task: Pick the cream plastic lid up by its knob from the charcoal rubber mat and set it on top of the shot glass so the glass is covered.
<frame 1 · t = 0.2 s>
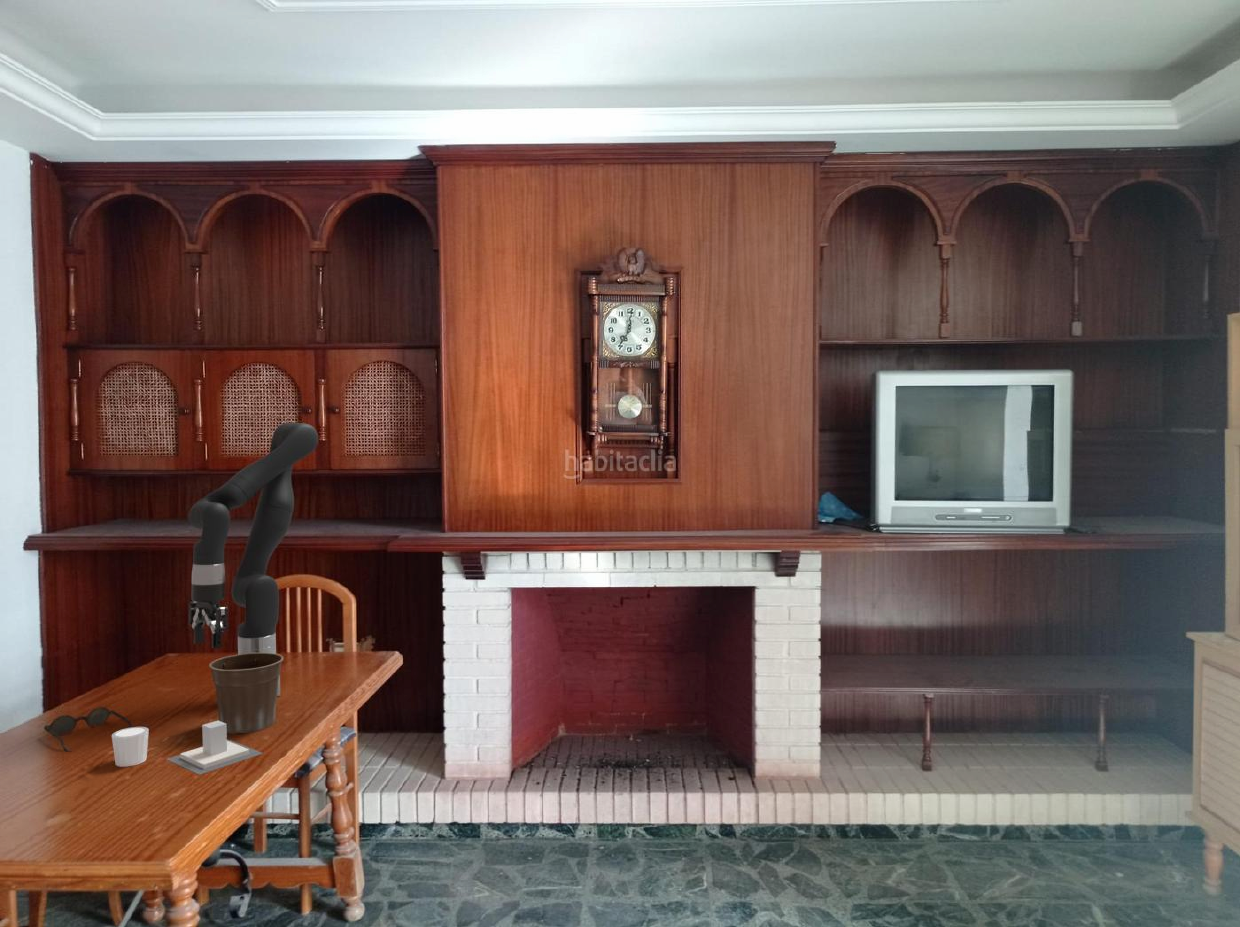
hand: (207, 645, 210), 17 cm above the table, tool pointing down, fingers open, 8 cm apart
plant pot: (248, 727, 201), on the table
shot glass: (131, 764, 179), on the table
eyeglasses: (91, 738, 195), on the table
mat: (215, 758, 181), on the table
lid: (215, 756, 181), point 1 cm above the table, touching mat
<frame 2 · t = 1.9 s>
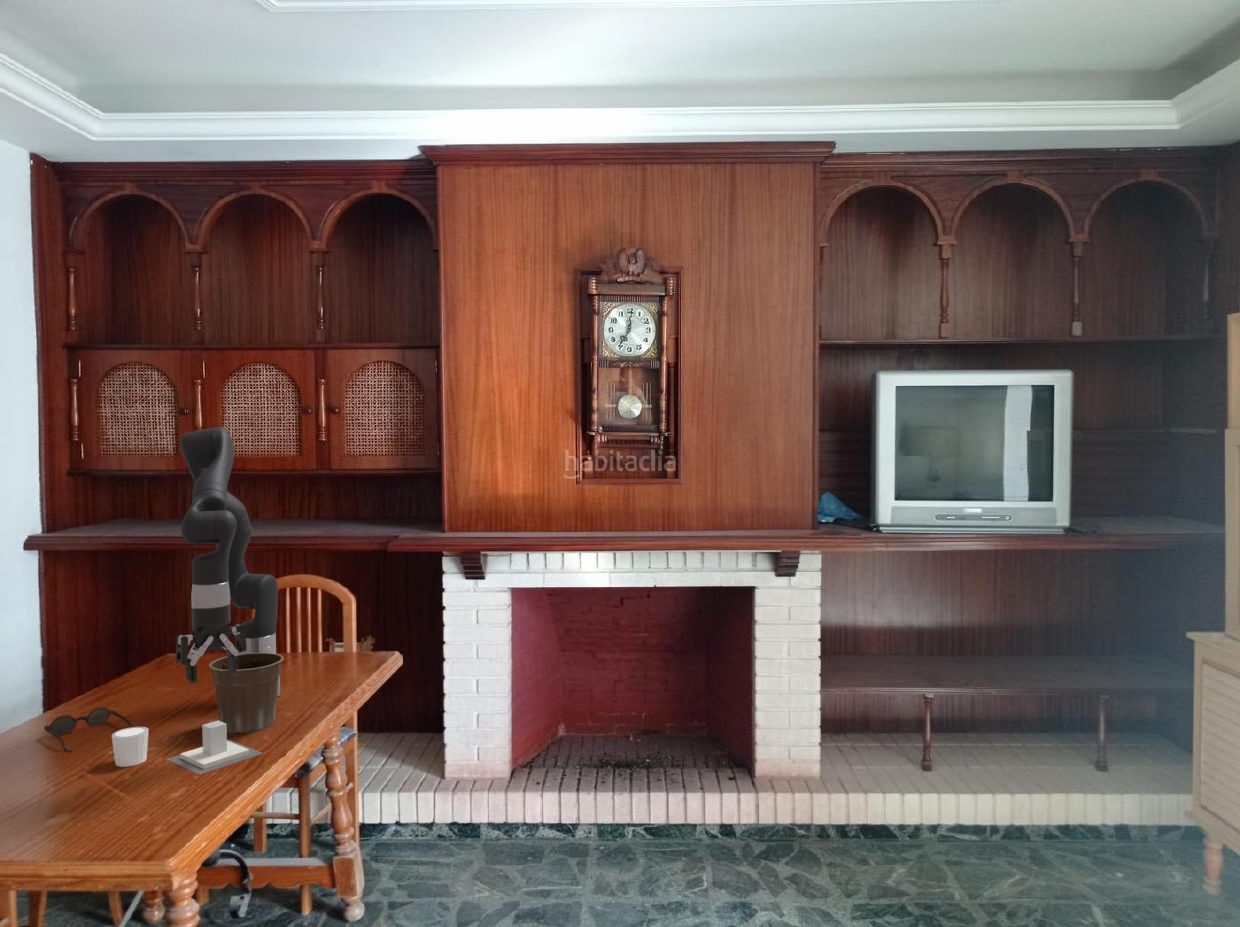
hand: (212, 677, 181), 18 cm above the table, tool pointing down, fingers open, 8 cm apart
nothing on the table moved.
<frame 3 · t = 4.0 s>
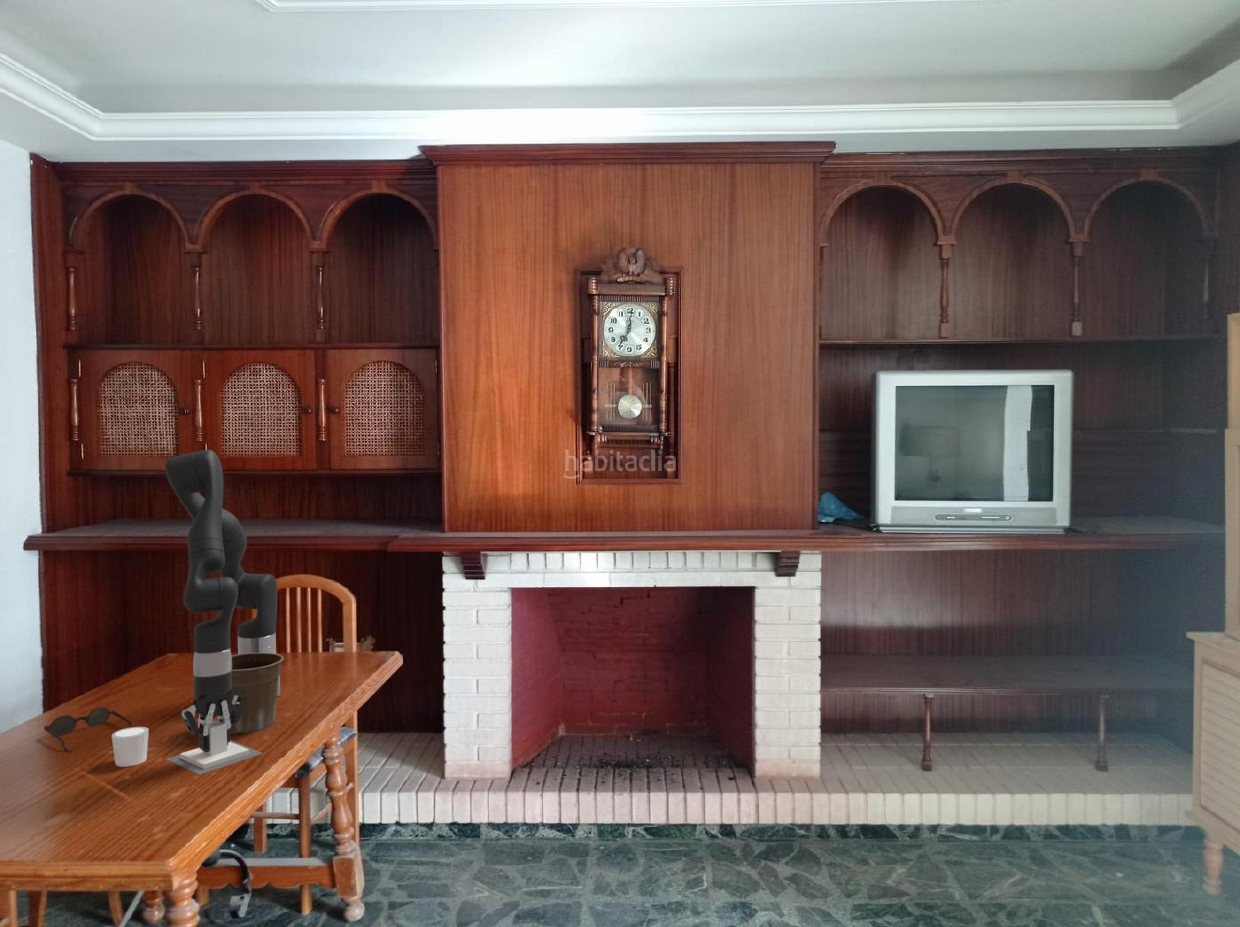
hand: (214, 747, 181), 2 cm above the table, tool pointing down, fingers closed on lid, 3 cm apart
lid: (215, 756, 181), point 1 cm above the table, touching gripper, mat
everything else where it was.
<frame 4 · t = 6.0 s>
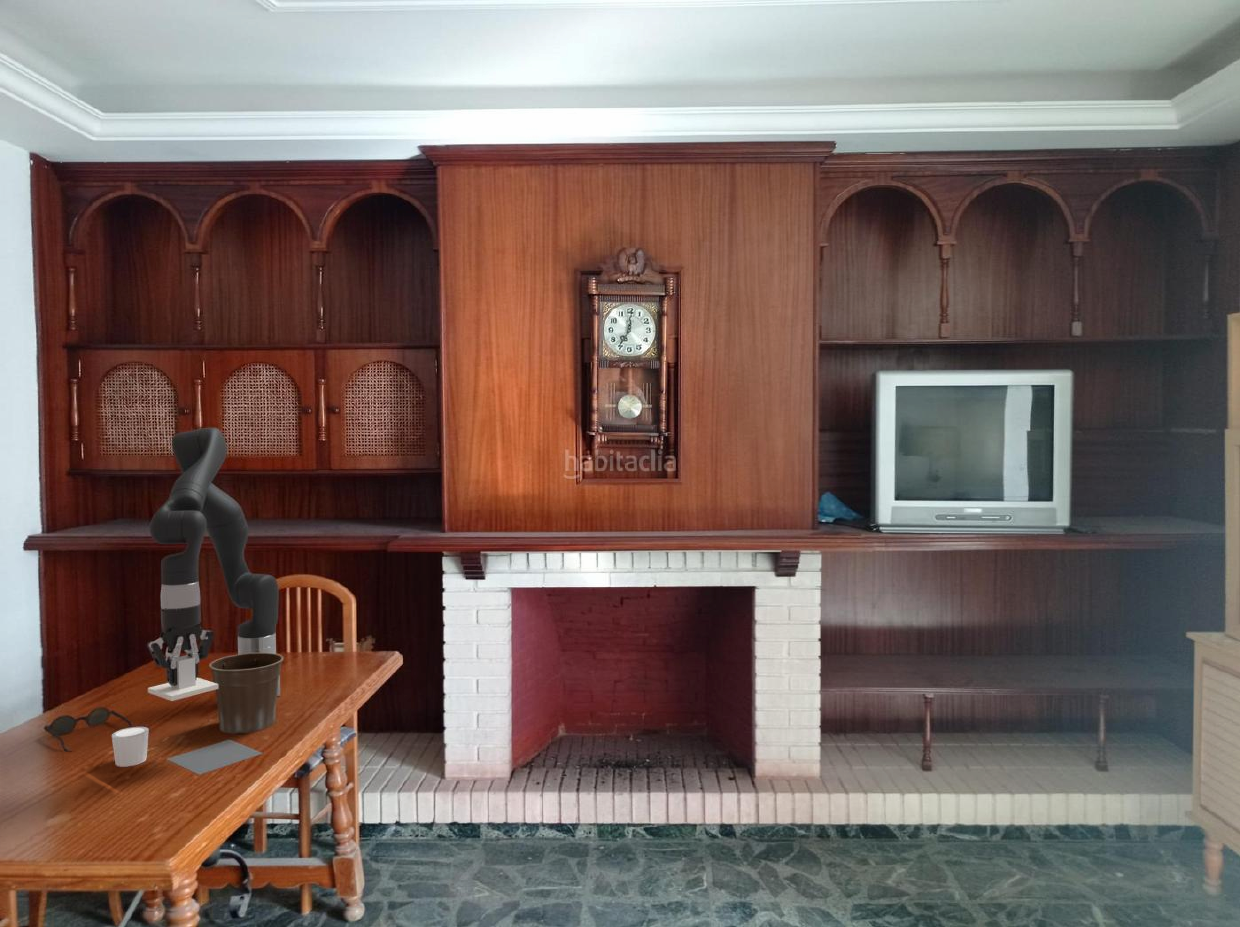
hand: (182, 682, 180), 17 cm above the table, tool pointing down, fingers closed on lid, 3 cm apart
lid: (183, 690, 180), point 15 cm above the table, touching gripper
everything else where it was.
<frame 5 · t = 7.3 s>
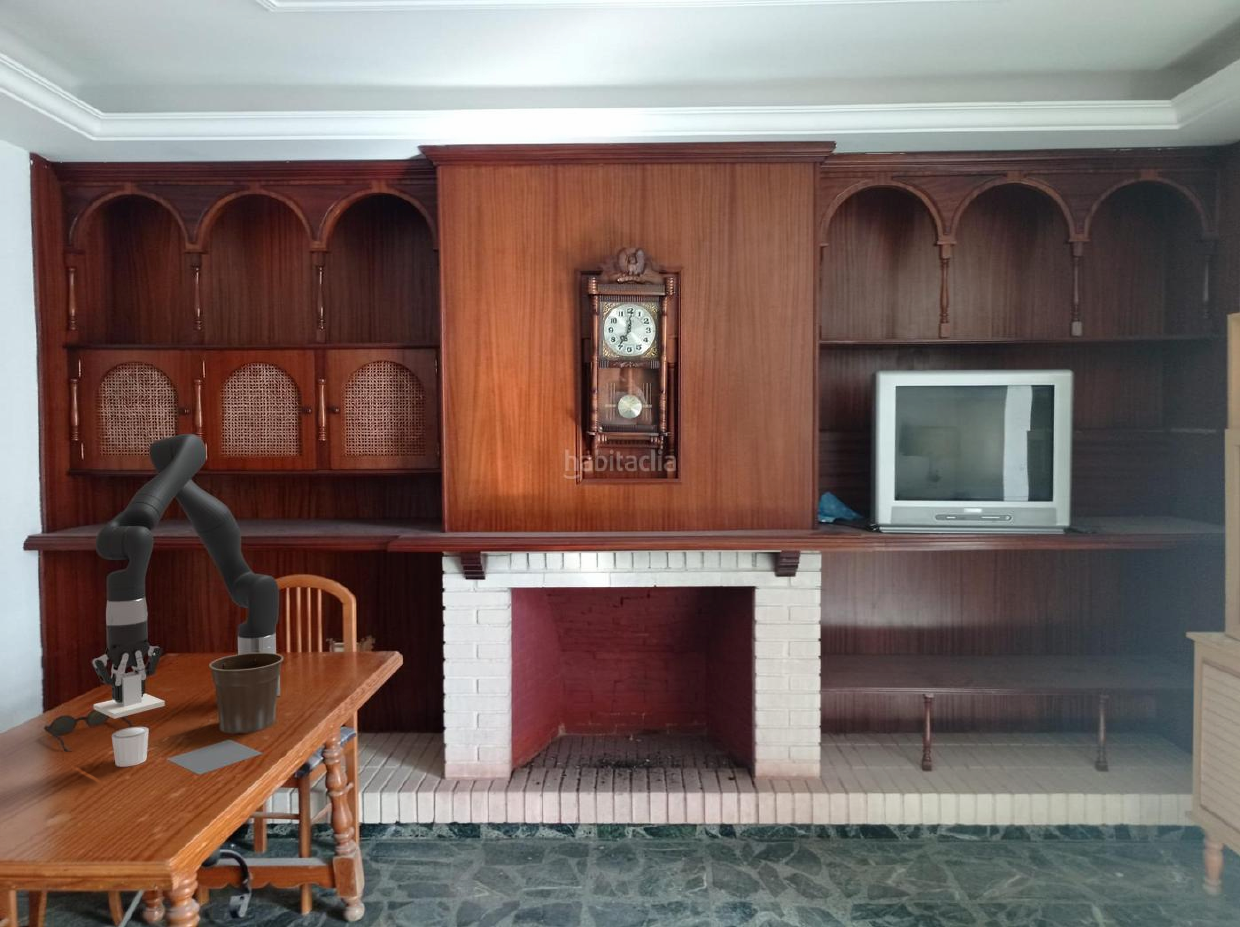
hand: (128, 699, 178), 14 cm above the table, tool pointing down, fingers closed on lid, 3 cm apart
lid: (129, 707, 178), point 12 cm above the table, touching gripper
everything else where it was.
when the fingers open (10 cm above the table, at t = 8.2 s): lid drops 1 cm, resting on shot glass.
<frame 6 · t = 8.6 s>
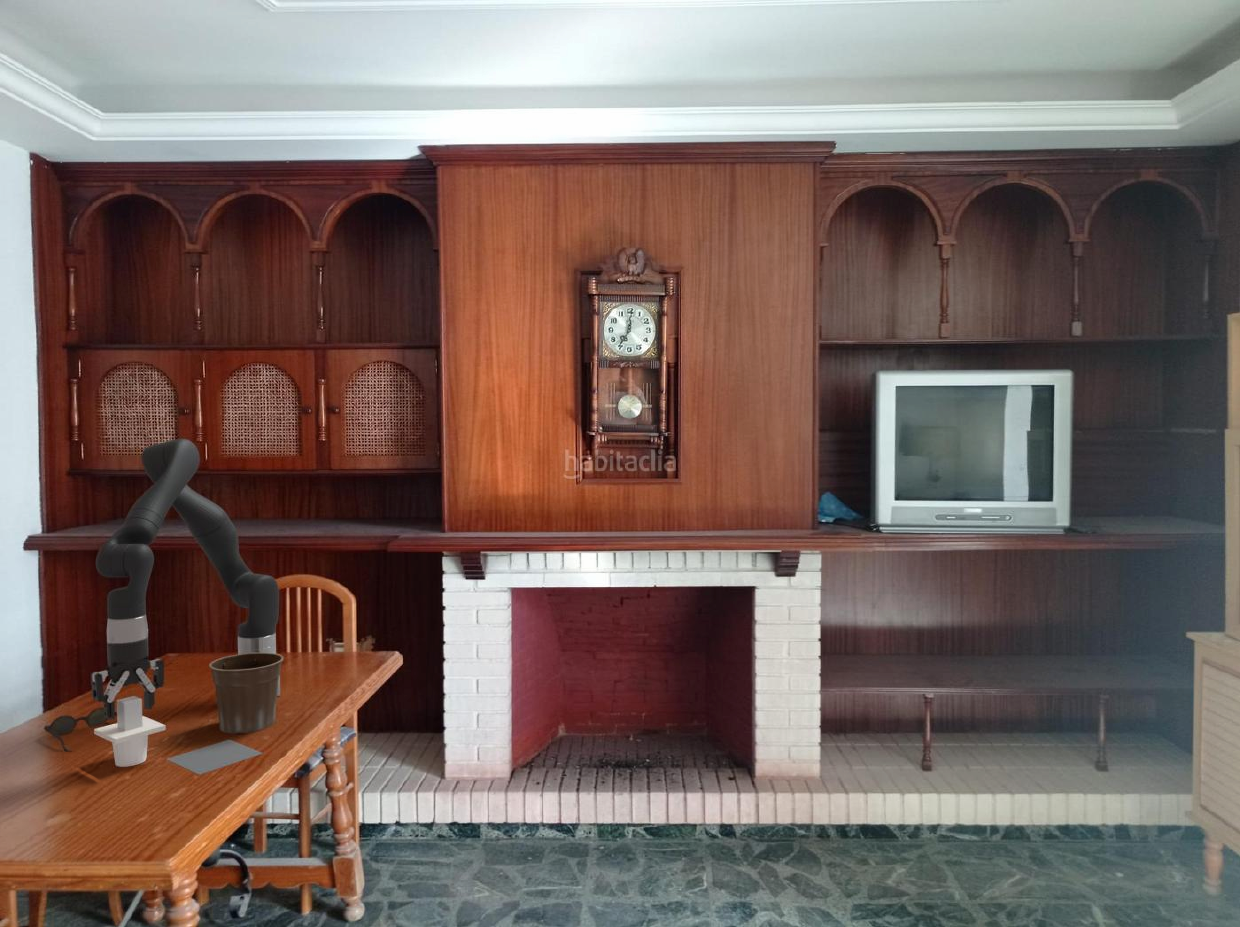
hand: (129, 713, 178), 11 cm above the table, tool pointing down, fingers open, 7 cm apart
shot glass: (131, 764, 179), on the table, touching lid
lid: (130, 731, 179), point 7 cm above the table, touching shot glass
everything else where it was.
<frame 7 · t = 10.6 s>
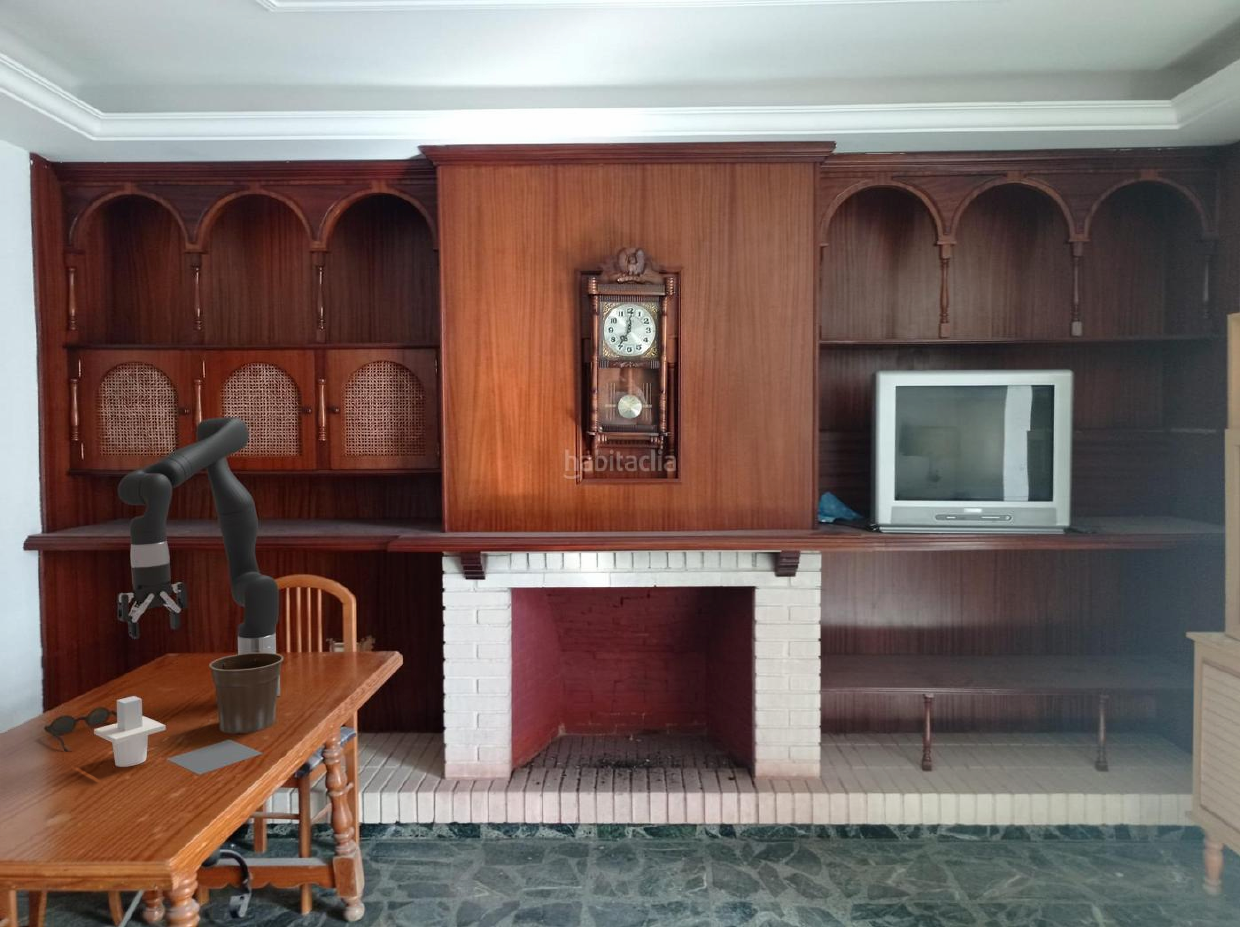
hand: (155, 633, 188), 26 cm above the table, tool pointing down, fingers open, 8 cm apart
nothing on the table moved.
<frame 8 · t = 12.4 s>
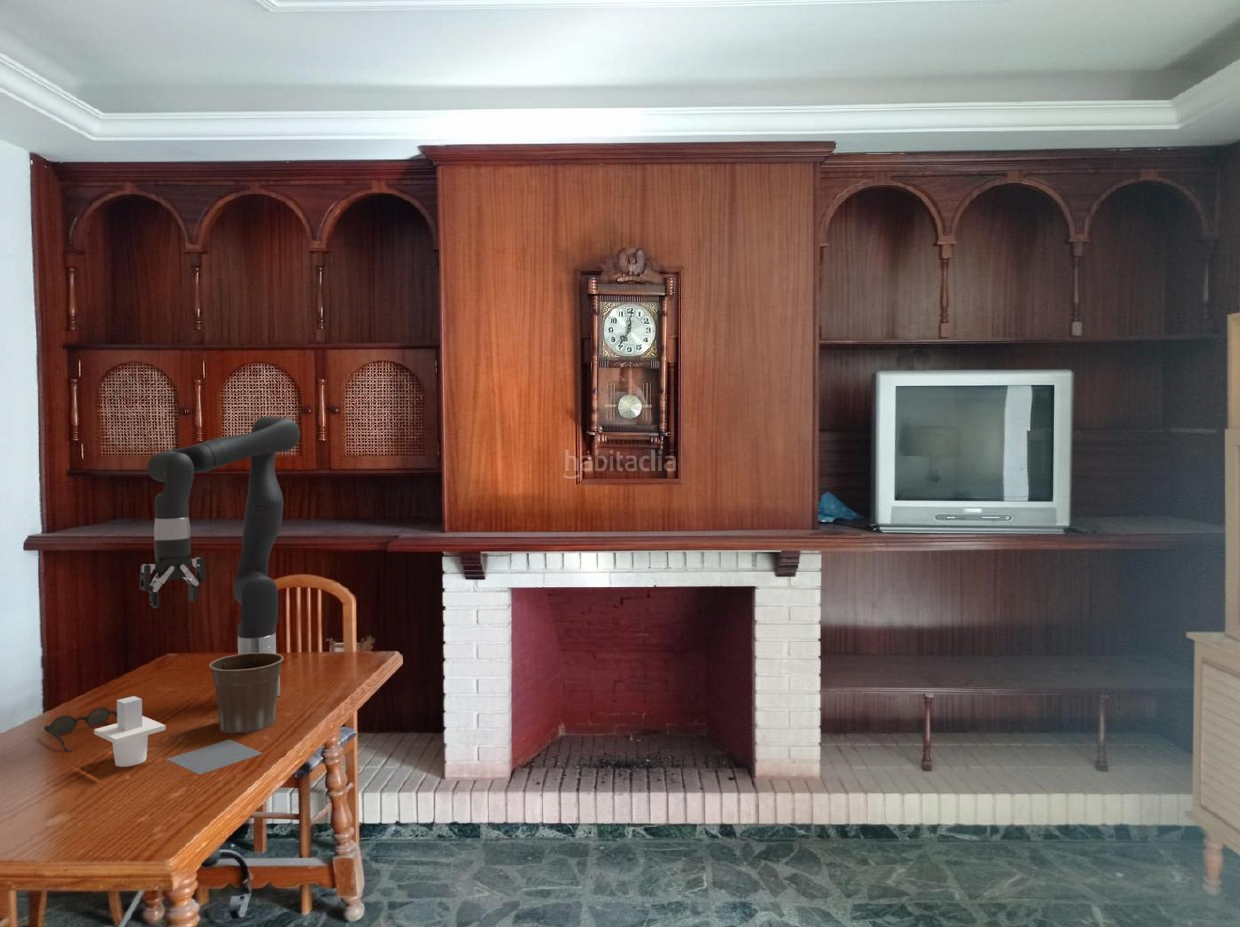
hand: (174, 604, 198), 30 cm above the table, tool pointing down, fingers open, 8 cm apart
nothing on the table moved.
at the end: lid 0.0 cm from the shot glass (horizontally); lid point 7.0 cm above the table; lid tilted 0° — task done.
